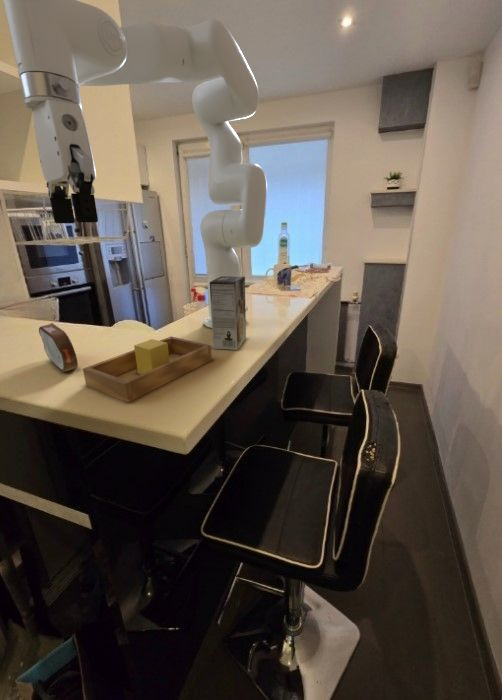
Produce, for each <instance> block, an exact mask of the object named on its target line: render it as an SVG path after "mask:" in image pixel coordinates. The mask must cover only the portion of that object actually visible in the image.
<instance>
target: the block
mask: <svg viewBox="0 0 502 700" xmlns="http://www.w3.org/2000/svg"><path fill="white" fill-rule="evenodd" d="M133 348H134V350H135V355H136V362H137V367H136V369H137V374H138V375H140V374H143V373H145V372H147V371H149V370H152V369H154V368H156V367H158V366H161V365H163V364H165V363H167V362H170V353H169V352H168V343H166V342H162V341H160V340H158V339H153V338H151V339H147V340H145V341H143V342H140V343H136V344H134V345H133Z"/></svg>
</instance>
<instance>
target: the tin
mask: <svg viewBox="0 0 502 700" xmlns="http://www.w3.org/2000/svg"><path fill="white" fill-rule="evenodd" d="M38 334H39V336H40V339H41V341H42V344H43V349H44V352H45V353H46V356H47V357H48V359H49V360H50V362H51V363H52V364H53V365H54V366H55V367H56V368H58V369H59V370H60V371H61V372H62V373H66V372H70V371H73V370H77V369H78V366H79V362H78V356H77V354H76V351H75V348H74V345H73V343H72V341H71V338H70V337H69V336H68V334H67V333H66V332H65V330H64V329H61V328H60V327H59V326H57V325H56V324H55V323H53V322H51V323H48V324H44V325H41V326H39V328H38Z"/></svg>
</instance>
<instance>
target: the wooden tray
mask: <svg viewBox="0 0 502 700" xmlns="http://www.w3.org/2000/svg"><path fill="white" fill-rule="evenodd" d="M159 341H162V342H166V343H168V352H169V354H172V353H175V354H178V355H181V356H179V357H177V358H174V359H172V360H169V362H167V363H165V364H163V365H161V366H158V367H156V368H154V369H152V370H149V371H147V372H145V373H143V374H138V375H136V376H134V377H132V378H129V379H127V380H126V379H123V378H120V377H118V376H119V375H121V374H124V373H126V372H129V371H131V370H133V369H137V362H136V355H135V349H133V350H130V351H127V352H125V353H124V352H123V353H122V354H119V355H116V356H114V357H110V358H108V359H105V360H103V361H100V362H97V363H94V364H92V365H89V366H86V367H83V368H82V373H83V378H84V381H85V386H86V387H88V388H91V389H93V390H95V391H97V392H101V393H103V394H106V395H108V396H110V397H112V398H116V399H117V400H121V401H122V402H125V403H129V404H130V403H131V402H133V401H135V400H137V399H139V398H141V397H142V396H145V395H147V394H148V393H150V392H153V391H155V390H156V389H158V388H160V387H162V386H164V385H166V384H167V383H170V382H172V381H174V380H176V379H178V378H180V377H182V376H184V375H185V374H188V373H189V372H191V371H193V370H195V369H198V368H199V367H201V366H203V365H205V364H207V363H209V362H211V361H212V360H213V357H212V345H211V344H207V343H202V342H199V341H195V340H189V339H184V338H180V337H177V336H173V335H172V336H168V337H166V338H163V339H160V340H159Z"/></svg>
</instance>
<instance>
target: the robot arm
mask: <svg viewBox="0 0 502 700" xmlns="http://www.w3.org/2000/svg"><path fill="white" fill-rule="evenodd" d="M3 7H4V10H5V15H6V19H7V21H6V22H7V26H8V30H9V35H10V40H11V45H12V49H13V54H14V59H15V63H16V68H17V73H18V77H19V83H20V88H21V92H22V93H21V94H22V97H23V101H24V105H25V108H26V109H28V110H29V111H31V112H32V118H33V125H34V126H33V129H34V134H35V139H36V146H37V151H38V157H39V162H40V167H41V171H42V175H43V178H44V180H45V181H46V183H45V184H46V188H47V193H48V197H49V202H50V207H51V212H52V216H53V222H54V223H55V224H75V223H76V222H77V223H98V221H99V217H98V211H97V205H96V198H95V187H94V185H93V183H94V181H96V179H97V173H96V172H97V171H96V166H95V161H94V156H93V150H92V146H91V141H90V136H89V132H88V127H87V124H86V120H85V117H84V112H83V105H82V99H81V98H82V97H81V92H80V91H81V90H80V87H107V86H108V87H109V86H120V85H121V86H122V85H145V84H153V83H165V84H166V83H168V84H169V83H170V84H171V83H173V84H174V83H175V84H193V83H197V82H198V83H199V82H201V81H204V82H201V83H199V84H198V85H197V86H195V88H194V89H193V91H192V95H191V104H192V109H193V112H194V114H195V116H196V118H197V120H198V122H199V123H200V126H201V127H202V129H203V131H204V133H205V135H206V137H207V141H208V144H209V166H208V187H207V188H208V196H209V200H211V202H212V203H213V204H215V205H218V206H241V209H216V210H212V211H209V212H208V213H206V214H205V215H204V216H203V217H202V219H201V221H200V235H201V239H202V243H203V248H204V253H205V264H206V283H207V284H206V285H207V302H208V317H207V318H205V319H204V320H203V322H204V323H203V324H204V325H205V326H206V327H207V328H211V329H212V316H211V298H210V282H211V281H213V280H215V279H217V278H219V277H221V276H232V277H241V264H240V259H239V257H238V255H237V253H236V251H235V248H237V249H238V248H239V249H241V248H242V249H252V248H255V247H257V246H259V245H260V244H261V242H262V240H263V237H264V231H265V222H266V209H267V197H268V181H267V176H266V173H265V171H264V169H263V167H261V165H259V164H257V163H254V162H246V163H245V162H244V163H243V144H242V142H241V139H240V137H239V136H238V134H237V133H236V131H235V130H234V128H233V127H232V126H231V124H230V123H229V122H232V121H237V120H242V119H243V120H244V119H248V118H250V117H252V116H253V115H254V114H256V111H257V110H258V108H259V105H260V91H259V86H258V84H257V81H256V78H255V77H254V74H253V72H252V70H251V68H250V65H249V64H248V62H247V60H246V58H245V56H244V54H243V52H242V50H241V48H240V47H239V44H238V43H237V41H236V40H235V38H234V36H233V34H232V33H231V31H230V30H229V29H228V27H226V25H225V24H224V23H223V22H222V21H220V20H219V19H216V18H211V19H207V20H205V21H202V22H200V23H199V22H198V23H197V24H194V25H192V26H188V27H178V26H172V25H167V24H162V23H158V22H154V21H149V20H145V21H138V22H132V23H128V24H125V25H122V26H119V24H118V22H117V21H116V20H115V19H114V18H113V17H112V16H111V15H109V14H108V13H107V12H105V10H103V9H101V8H99V7H97V6H95V5H92V4H90V3H86V2H83V1H80V0H3ZM219 76H221V77H219ZM215 77H216V78H215ZM205 80H206V81H205ZM70 188H71V190H72V192H73V193H70V191H69V190H70ZM69 193H70V197H71V198H69ZM245 307H246V312H248V311H249V308H248V306H247V305H245Z"/></svg>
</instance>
